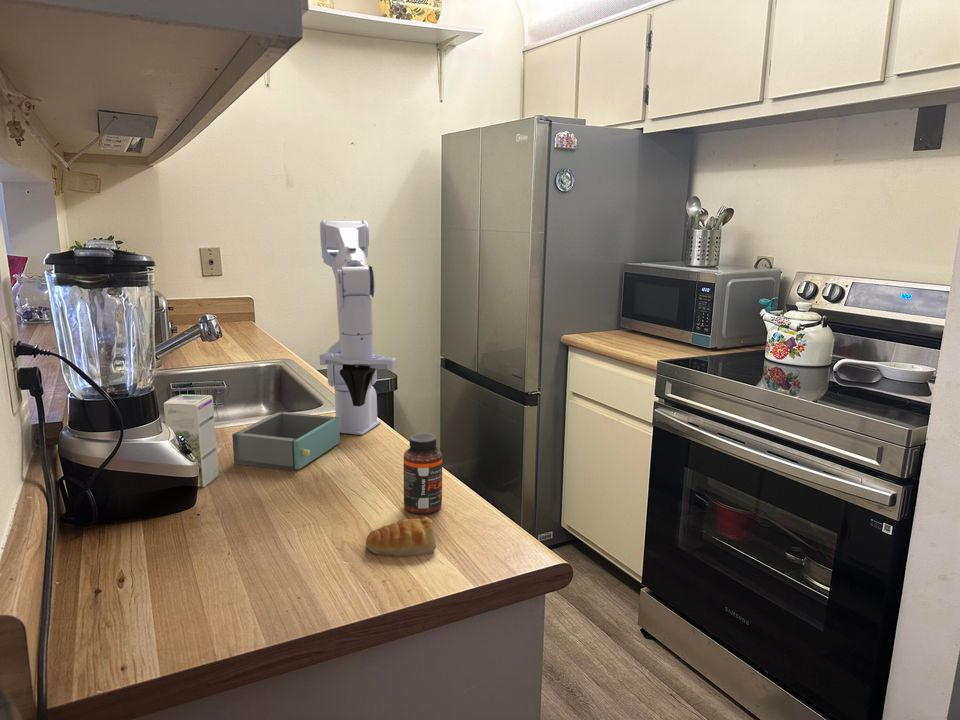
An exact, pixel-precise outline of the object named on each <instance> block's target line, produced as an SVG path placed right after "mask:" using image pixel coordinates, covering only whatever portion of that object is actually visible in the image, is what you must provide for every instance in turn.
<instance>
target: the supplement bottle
mask: <svg viewBox="0 0 960 720" xmlns="http://www.w3.org/2000/svg"><path fill="white" fill-rule="evenodd" d="M408 445H409V448H408V449H406V450H405V451H404V454H403V506H404V508H405V510H407V511H408V512H410V513H413V514H417V515H419V514H420V515H426V514H432V513H435V512H437V511H438V510H439V509H441V507H442V504H443V453H442V452H441V451H442V450H440V449H439V448H438V447H437V437H436V436H435V435H434V434H430V433H417V434H413V435H411V436H410V437H409V444H408Z"/></svg>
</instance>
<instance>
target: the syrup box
mask: <svg viewBox="0 0 960 720" xmlns="http://www.w3.org/2000/svg"><path fill="white" fill-rule="evenodd" d="M163 410H164V411H163V413H164V420H165V426H166V425H167V426H168V427H170V428H171V429H172V430H173V432H174V433H175V434H176V435H179V436H184V437H185V438H186V440H187V441H188V443H189V444H190V446H191V449H192V454H193V456H194V457H195V459H196V461H197V463H198V467H199V487H198V488H205V487H206V486H208V485H209V484H210V483H212V482H213V481H214V480H216V478H218V477H219V476H220V473H219V472H220V471H219V462H218V453H217V452H218V451H217V450H218V449H217V439H216V427H215V426H216V425H215V409H214V397H213V395H210V394H182V393H181V394H178V395H175V396H173V397H171V398H169V399H168V400H167V401H165V402H163Z"/></svg>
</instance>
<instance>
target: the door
mask: <svg viewBox="0 0 960 720" xmlns="http://www.w3.org/2000/svg"><path fill="white" fill-rule="evenodd" d="M333 417H334V418H333V419H331V420H329V421H328V422H326V423H324V424H322V425H321V426H319V427H317V428H315V429H314V430H312V431H310V432H308V433H307V434H305V435H303V436H302V437H300V438H298V439H296V440H295V441H294V460H295V469H296V470H301V469H302V468H303V467H305V466H306V465H308V464H309V463H311V462H313V461H314V460H316V459H317V458H319V457H320V456H322V455H323V454H325V453H326V452H328V451H329V450H331V449H333V448H334V447H335V446H337V445H338V444H340V443H341V437H340V436H341V435H340V430H339V417H338V416H337V417H336V416H333Z"/></svg>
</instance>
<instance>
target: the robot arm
mask: <svg viewBox="0 0 960 720" xmlns="http://www.w3.org/2000/svg"><path fill="white" fill-rule="evenodd" d="M319 223H320V224H319V237H320V247H321V258H322V259H323V264H324V265H326V266H329V267H330V268H331V270H332V272H333V275H334V276H333V277H334V280H335V290H336V291H335V292H336V306H337V307H336V309H337V322H338V323H337V324H338V338H339V339H338V340H337V341H336V342H334V344H332V345H331V346H330V347H328V351H327V352H324V353H320V354H319V365H321V366H326V375H327V384H328V386H329V387H331V388H333V389H334V408H335V409H334V411H335V417H337V416H338V417H339V430H340V433H341V434H349V435H357V436H358V435H359V436H363V435H365V434H366V433H368V432H369V431H371V430H372V429H373V428H375V427H376V426H378V425H379V424H381V423H382V420H381V419H378V400H377V398H378V397H377V391H376V389H375V387H374V386H373V385H375V383H376V382H377V380H378V379H377V376H378V374H377V373H378V369H379V370H387V371H394V370H396V369H397V358H396V357H388V356H383V355H378V354H375V349H374V330H373V329H374V326H373V324H374V323H373V321H374V320H373V299H372V298H374V296H375V291H376V278H375V271H374V269H373V267H374V266H373V265H372V264H368V261H367V258H368V254H369V246H370V230H369V229H370V228H369V224H368V222H367V221H366V220H365V219H363V220H326V219H322V220H321V221H320V222H319ZM370 296H371V297H370Z"/></svg>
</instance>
